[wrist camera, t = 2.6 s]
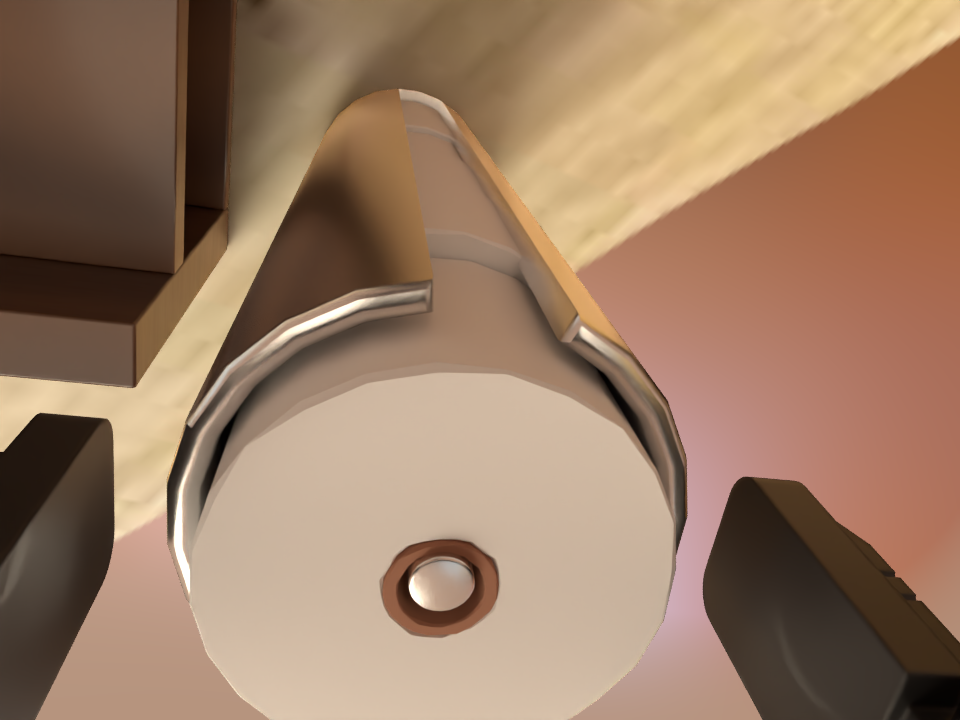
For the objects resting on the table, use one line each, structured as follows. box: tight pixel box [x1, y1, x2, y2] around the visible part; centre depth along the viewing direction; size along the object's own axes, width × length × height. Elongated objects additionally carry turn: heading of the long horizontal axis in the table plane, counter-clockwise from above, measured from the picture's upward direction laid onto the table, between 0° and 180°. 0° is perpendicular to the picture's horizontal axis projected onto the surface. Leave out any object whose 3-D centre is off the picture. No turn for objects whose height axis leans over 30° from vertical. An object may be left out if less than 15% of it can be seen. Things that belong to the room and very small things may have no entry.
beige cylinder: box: [167, 88, 687, 720], centre depth 20 cm, size 6×6×25 cm
